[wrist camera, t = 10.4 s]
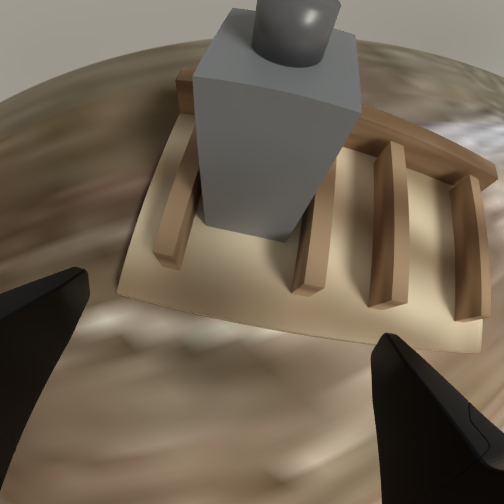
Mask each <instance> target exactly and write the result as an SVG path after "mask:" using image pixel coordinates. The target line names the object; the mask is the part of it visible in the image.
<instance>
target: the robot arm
mask: <svg viewBox="0 0 504 504" xmlns="http://www.w3.org/2000/svg"><path fill="white" fill-rule="evenodd" d="M89 296H90V289H89V280H88V273H87V271H86V270H85V269H82V268H78V267H72V268H70V269H67V270H64V271H61V272H58V273H55V274H53V275H50V276H47V277H44V278H42V279H39V280H36V281H33V282H31V283H28V284H25V285H23V286H20V287H17V288H15V289H12V290H9V291H7V292H4V293H2V294H0V490H1V487H2V484H3V481H4V478H5V476H6V473H7V470H8V467H9V465H10V462H11V460H12V457H13V455H14V452H15V450H16V446H17V444H18V442H19V440H20V437H21V435H22V433H23V430H24V428H25V426H26V424H27V421H28V419H29V417H30V415H31V413H32V411H33V409H34V406H35V404H36V402H37V400H38V398H39V396H40V394H41V392H42V390H43V388H44V386H45V384H46V382H47V380H48V379H49V377H50V375H51V373H52V371H53V369H54V367H55V365H56V364H57V362H58V360H59V358H60V356H61V355H62V353H63V351H64V349H65V347H66V346H67V344H68V342H69V340H70V338H71V336H72V334H73V332H74V330H75V328H76V325H77V323H78V321H79V319H80V317H81V315H82V312H83V310H84V308H85V306H86V304H87V302H88V300H89ZM371 375H372V398H373V408H374V416H375V424H376V432H377V442H378V452H379V463H380V476H381V492H382V504H504V433H503V432H502V431H501V430H499V429H498V428H497V427H496V426H495V425H494V424H493V423H491V422H490V421H489V420H488V419H487V418H486V417H485V416H484V415H483V414H482V413H480V412H479V411H478V410H477V409H476V408H475V407H474V406H473V405H472V404H471V403H470V402H468V400H467V399H466V398H465V397H464V396H463V395H462V394H461V393H460V392H458V391H457V390H456V389H455V388H454V387H453V386H452V385H451V384H450V383H449V382H448V381H447V380H446V379H445V378H444V377H443V376H442V375H440V374H439V373H438V372H437V371H436V370H435V369H434V368H433V367H432V366H431V365H430V364H429V363H428V362H427V361H425V360H424V359H423V358H422V357H421V356H420V355H419V354H418V353H417V352H416V351H415V350H413V349H412V348H411V347H410V346H409V345H408V344H407V343H406V342H405V341H404V340H402V339H401V338H400V337H399V336H398V335H397V334H394V333H384V334H382V336H381V337H380V339H379V341H378V343H377V344H376V346H375V348H374V349H373V351H372V354H371Z"/></svg>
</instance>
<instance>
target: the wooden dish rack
mask: <svg viewBox="0 0 504 504" xmlns="http://www.w3.org/2000/svg"><path fill="white" fill-rule="evenodd" d="M195 70H196V68H191V67H183V68H182V69H181V71H180V73H179V75H178V76H177V78H176V87H177V95H178V103H179V111H180V114H179V116H178V118H177V120H176V123H175V125H174V127H173V129H172V132H171V134H170V136H169V139H168V141H167V143H166V146H165V148H164V151H163V153H162V156H161V158H160V161H159V163H158V166H157V168H156V171H155V173H154V176H153V178H152V181H151V184H150V186H149V189H148V192H147V195H146V197H145V200H144V203H143V206H142V209H141V212H140V215H139V218H138V221H137V224H136V227H135V230H134V233H133V236H132V239H131V242H130V246H129V249H128V252H127V256H126V259H125V262H124V266H123V269H122V273H121V277H120V280H119V284H118V288H117V292H116V293H118V294H119V295H122V296H125V297H129V298H133V299H137V300H140V301H144V302H148V303H152V304H156V305H160V306H164V307H168V308H172V309H176V310H180V311H185V312H189V313H193V314H198V315H202V316H207V317H211V318H216V319H221V320H225V321H230V322H235V323H240V324H245V325H250V326H256V327H261V328H266V329H272V330H277V331H283V332H289V333H295V334H301V335H307V336H313V337H320V338H326V339H333V340H340V341H348V342H355V343H363V344H371V345H376V344H377V343H378V341H379V339H380V337H381V336H382V334H384V333H394V334H397V335H398V336H399V337H400V338H401V339H402V340H404V341H405V342H406V343H407V344H408V345H409V346H410V347H411V348H412V349H420V350H432V351H446V352H462V353H480V351H481V339H482V322H483V319H484V318H489V317H491V283H490V261H489V248H488V238H487V229H486V221H485V214H484V207H483V201H482V195H481V191H483V190H484V189H485V188H487V187H488V186H489V185H491V184H492V183H494V182H495V181H496V180H498V175H497V171H496V168H495V164H493V163H492V162H490V161H488V160H486V159H485V158H483V157H481V156H479V155H477V154H476V153H474V152H472V151H470V150H468V149H466V148H464V147H462V146H460V145H459V144H457V143H455V142H453V141H451V140H448V139H446V138H444V137H442V136H440V135H438V134H436V133H434V132H431V131H429V130H427V129H425V128H423V127H420V126H418V125H416V124H413V123H411V122H408V121H406V120H404V119H401V118H399V117H396V116H393V115H391V114H388V113H386V112H383V111H380V110H377V109H375V108H372V107H369V106H366V105H363V104H361V109H362V114H361V116H360V117H359V119H358V121H357V123H356V124H355V126H354V128H353V130H352V131H351V133H350V135H349V137H348V138H347V140H346V142H345V144H344V145H343V147H342V149H341V150H340V152H339V154H338V156H337V157H336V159H335V161H334V162H333V164H332V166H331V168H330V169H329V171H328V173H327V174H326V176H325V178H324V180H323V181H322V183H321V185H320V186H319V188H318V190H317V191H316V193H315V195H314V196H313V198H312V200H311V201H310V203H309V205H308V206H307V208H306V210H305V211H304V213H303V215H302V216H301V218H300V220H299V221H298V223H297V225H296V226H295V228H294V230H293V231H292V233H291V235H290V236H289V238H288V240H287V241H286V243H283V242H279V241H274V240H270V239H265V238H260V237H256V236H251V235H246V234H242V233H237V232H232V231H228V230H223V229H218V228H214V227H209V226H206V223H205V214H204V206H203V196H202V187H201V177H200V167H199V156H198V145H197V134H196V121H195V108H194V95H193V79H192V76H193V74H194V72H195Z"/></svg>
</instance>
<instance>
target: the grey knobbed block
mask: <svg viewBox="0 0 504 504" xmlns="http://www.w3.org/2000/svg"><path fill="white" fill-rule="evenodd" d="M340 7H341V4H340V2H339V1H338V0H257V6H256V11H252V10H245V9H237V8H232V10H231V11H230V13H229V15H228V16H227V18H226V19H225V21H224V22H223V24H222V25H221V27H220V29H219V30H218V32H217V34H216V35H215V37H214V39H213V40H212V42H211V44H210V45H209V47H208V49H207V51H206V52H205V54H204V56H203V58H202V59H201V61H200V63H199V65H198V67H197V68H196V70H195V72H194V74H193V76H192V79H193V95H194V108H195V121H196V134H197V145H198V156H199V167H200V177H201V187H202V196H203V206H204V214H205V223H206V226H209V227H214V228H218V229H223V230H228V231H232V232H237V233H242V234H246V235H251V236H256V237H260V238H265V239H270V240H274V241H279V242H283V243H286V241H287V240H288V238H289V236H290V235H291V233H292V231H293V230H294V228H295V226H296V225H297V223H298V221H299V220H300V218H301V216H302V215H303V213H304V211H305V210H306V208H307V206H308V205H309V203H310V201H311V200H312V198H313V196H314V195H315V193H316V191H317V190H318V188H319V186H320V185H321V183H322V181H323V180H324V178H325V176H326V174H327V173H328V171H329V169H330V168H331V166H332V164H333V162H334V161H335V159H336V157H337V156H338V154H339V152H340V150H341V149H342V147H343V145H344V144H345V142H346V140H347V138H348V137H349V135H350V133H351V131H352V130H353V128H354V126H355V124H356V123H357V121H358V119H359V117H360V116H361V114H362V109H361V92H360V78H359V66H358V56H357V47H356V38H355V35H353V34H350V33H347V32H344V31H340V30H337V29H334V28H333V27H334V24H335V21H336V19H337V16H338V13H339V10H340Z"/></svg>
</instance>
